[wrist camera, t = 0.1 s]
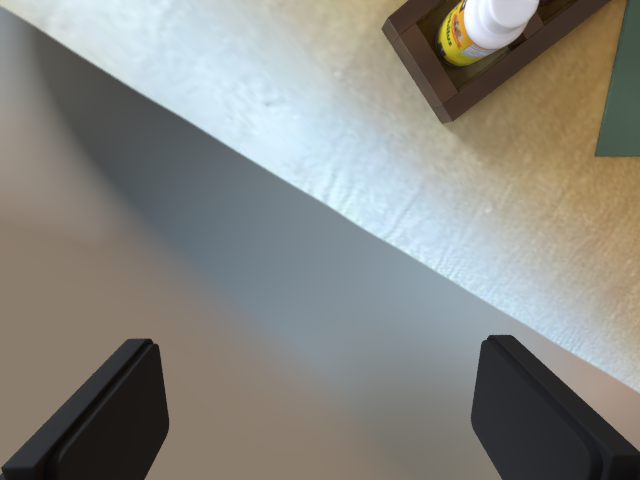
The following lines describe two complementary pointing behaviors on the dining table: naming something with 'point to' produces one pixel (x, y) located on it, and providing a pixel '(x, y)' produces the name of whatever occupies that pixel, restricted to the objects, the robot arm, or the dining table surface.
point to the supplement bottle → (481, 29)
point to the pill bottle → (545, 1)
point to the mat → (624, 92)
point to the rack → (521, 52)
